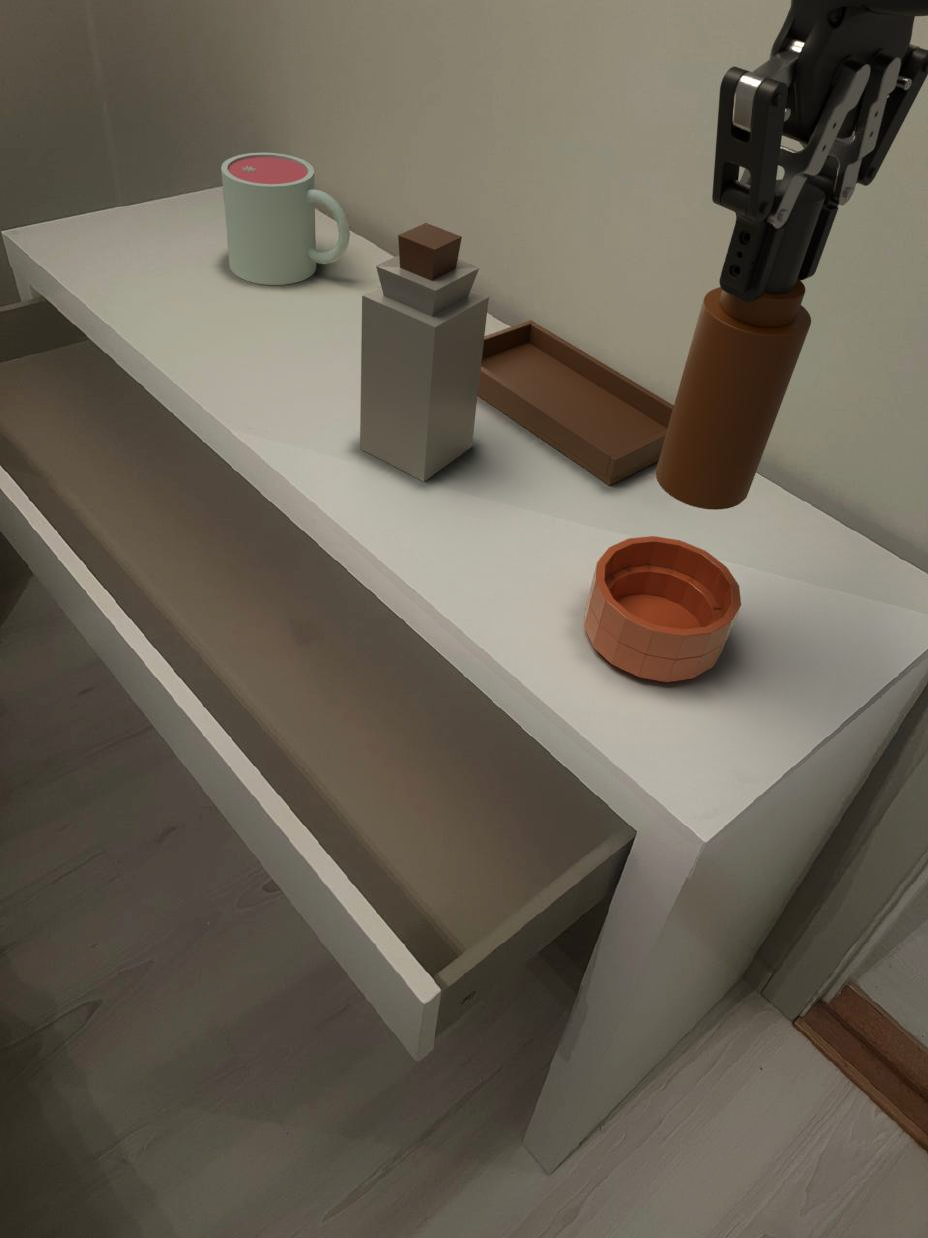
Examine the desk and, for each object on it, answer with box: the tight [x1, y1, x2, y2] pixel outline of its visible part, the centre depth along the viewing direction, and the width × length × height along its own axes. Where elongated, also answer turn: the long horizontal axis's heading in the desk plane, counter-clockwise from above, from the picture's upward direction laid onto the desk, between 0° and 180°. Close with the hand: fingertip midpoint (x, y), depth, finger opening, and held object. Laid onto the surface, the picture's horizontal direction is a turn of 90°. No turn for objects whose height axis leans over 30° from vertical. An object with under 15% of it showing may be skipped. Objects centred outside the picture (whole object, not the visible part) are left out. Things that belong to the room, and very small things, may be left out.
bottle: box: [655, 178, 825, 511], centre depth 50 cm, size 6×6×17 cm
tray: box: [478, 319, 674, 486], centre depth 84 cm, size 21×11×3 cm, turn 41°
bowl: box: [583, 535, 742, 683], centre depth 63 cm, size 10×10×5 cm
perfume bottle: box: [359, 222, 490, 482], centre depth 72 cm, size 7×7×18 cm
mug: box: [220, 152, 351, 286], centre depth 97 cm, size 14×9×10 cm
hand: (766, 281), depth 47 cm, fingers closed on bottle, 4 cm apart
